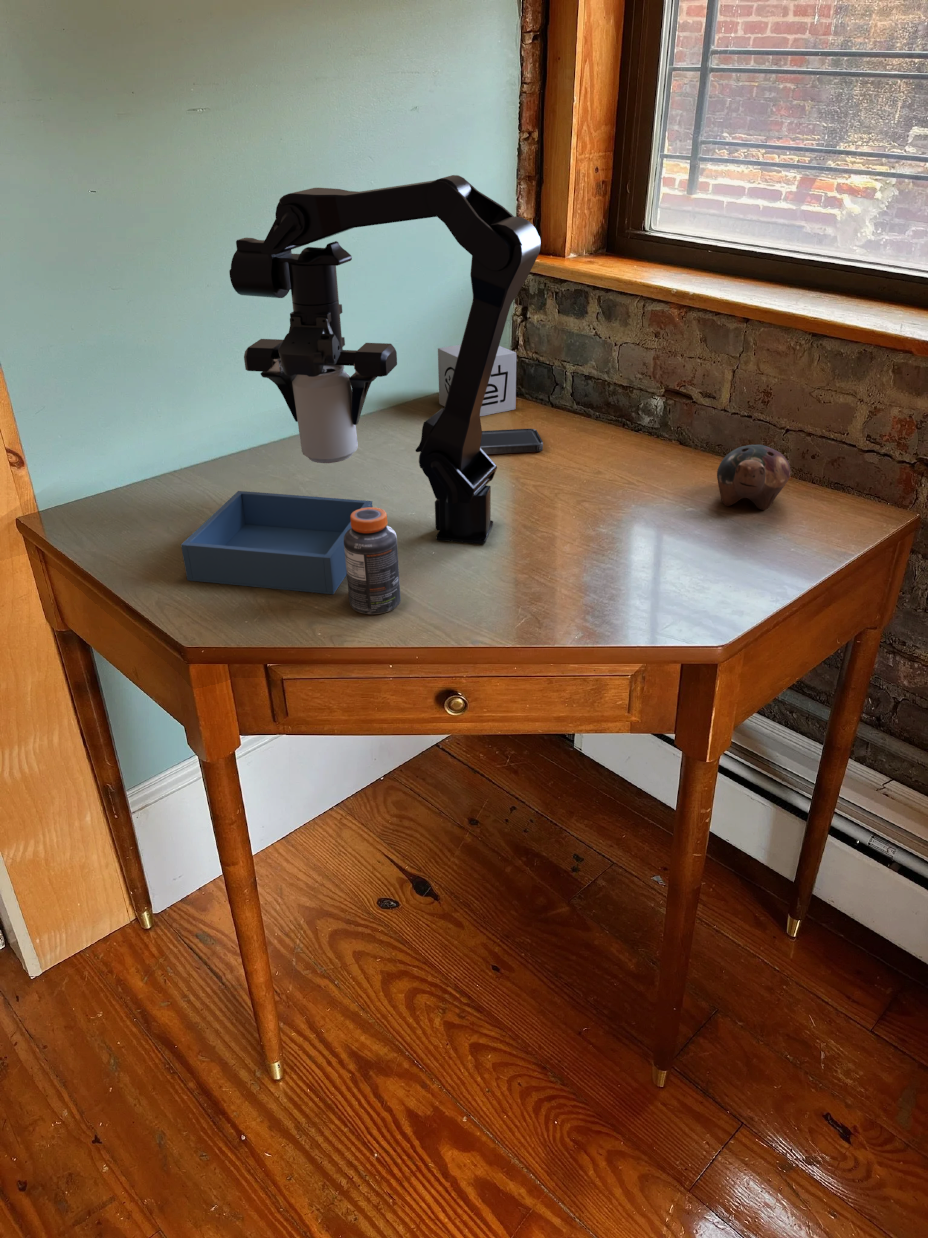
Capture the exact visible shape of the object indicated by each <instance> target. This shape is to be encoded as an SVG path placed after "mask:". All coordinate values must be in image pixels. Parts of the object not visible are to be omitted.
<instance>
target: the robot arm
mask: <svg viewBox="0 0 928 1238" xmlns="http://www.w3.org/2000/svg"><path fill="white" fill-rule="evenodd" d="M430 218H438V220H440V221H441V222H442V223H444V225H445V227H446V228H447V229H448V230H449V232H450V233H451V234H452V236H453V238H454V239H455V241H456V242H457V244H458V245H460V246H461V247H462V248H463V249H465V251H466V252H468V253H469V254H470V255H471V263H470V275H469V276H470V283H471V291H472V300H471V301H472V302H471V305H470V309H469V314H468V317H467V322H466V324H465V329H464V333H463V336H462V340H461V344H460V345H461V347H460V351H459V355H458V358H457V362H456V366H455V370H454V374H453V377H452V381H451V385H450V389H449V392H448V396H447V400H446V404H445V407H444V408H443V407H441V408H440V409H439V410H438V411H437V412H435V413H434V414H432V416H430V417H428V418H427V419H426V420H425V421H424V422H423V423H422V424H423V425H422V427H421V438H420V442H419V444H418V446H417V447H416V449H415V453H419V456H418V464H419V468H420V469H421V470H422V472H423V474H424V476H426V478H427V479H428V482H429V485H430V487H431V490H432V492H433V496H434V497H435V501H434V521H435V523H434V524H435V530H436V531H437V534H436V535H435V537H436V538H435V539H436V541H442V542H452V543H465V544H476V545H477V544H478V545H484V544H486V543H487V540H488V538H489V536H490V533H491V531H492V529H493V526H494V521H493V520H492V518H491V517H492V516H491V514H492V513H491V511H492V509H491V508H492V507H491V505H492V504H491V503H492V501H491V498H492V497H491V495H492V494H491V485H488V484H489V483H490V482H491V481H492V480H493V479H494V478H495V475H496V472H497V469H498V466H497V465H496V463H495V462H494V461H493V460H492V459H491V458H490V457H489V455H488V454H486V453H485V452H484V451H483V450H482V449H481V448H480V445H481V435H482V431H483V429H482V422H481V416H480V410H481V406H482V403H483V399H484V396H485V392H486V389H487V385H488V382H489V379H490V375H491V372H492V368H493V365H494V361H495V358H496V354H497V351H498V347H499V346H500V344H501V340H502V337H503V333H504V330H505V326H506V322H507V320H508V315H509V312H510V310H511V306H512V305H513V302H514V301H515V299H516V297H517V295H518V294H519V293H520V290H521V289H522V287H523V286H524V285H525V283H526V281H527V279H528V278H529V276H530V273H531V271H532V269H533V267H534V265H535V263H536V261H537V259H538V257H539V254H540V252H541V245H542V244H541V243H542V242H541V236H540V235H539V233H538V230H537V228H536V227H535V226H534V224H532V222H531V221H530V220H527V219H526V218H524V217H521V216H516V215H515V216H514V215H513V214H512V213H511V212H510V211H509V210H508V209H507V208H505V207H504V205H502V204H500V203H498V202H497V201H495V200H493V199H492V198H490V197H489V196H487V195H486V194H484V193H483V192H481V191H479V190H478V189H477V188H475V187H474V186H473V184H471V183H470V182H469V181H468V180H467V179H466V178H464V177H463V176H460V175H458V174H453V175H452V174H451V175H448V176H445V177H440V178H438V179H435V180H428V181H421V182H414V183H409V184H407V183H406V184H402V185H395V186H387V187H382V188H375V189H367V190H361V191H353V190H346V189H341V188H331V187H330V188H329V187H311V188H307V189H303V190H299V191H294V192H289V193H287V194H284V195H283V196H281V197H280V198H279V200H278V203H277V205H276V209H275V219H274V222H273V223H272V225H271V227H270V229H269V231H268V233H267V235H266V237H265V239H257V238H254V237H243V238H239V239H236V241H235V245H236V250H235V252H234V254H233V256H232V258H231V263H230V269H229V271H228V273H229V279H230V282H231V287H232V288H233V289H234V292H236V293H237V294H238V295H240V296H248V297H258V298H259V297H262V298H275V299H284V298H286V296H287V295H288V294H289V293H290V294H291V301H292V311H291V312H290V313H289V325H290V326H289V330H288V333H286V335H285V336H284V338H283V339H277V338H260V339H259V340H257V341H255V342H254V343H252V344H251V345H249V346H248V347H247V348H246V349H245V350H244V355H243V361H244V369H245V370H246V371H247V372H260V376H261V377H262V378H266V379H269V380H270V381H271V382H272V383H274V385H275V386H276V387H277V388H278V390H279V392H280V394H281V395H282V397H283V398H284V401H285V403H286V405H287V407H288V409H289V411H290V414H291V415H292V418H293V420H294V422H296V423H298V421H297V413H296V406H295V399H294V392H293V385H292V382H293V380H294V379H295V377H296V376H297V375H307V376H309V377H315V376H318V375H320V374H321V373H322V371H323V366H324V365H344V367H346V366H347V367H349V366H350V367H353V370H354V371H355V372H354V373H353V374H352V375H351V376H350V378H349V381H350V383H351V387H352V419H353V424H354V425H356V426H357V425H358V424H359V421H360V419H361V416H362V412H363V408H364V405H365V401H366V399H367V395H368V392H369V389H370V387H371V384H372V382H374V381H375V380H376V379H377V378H379V377H380V378H381V377H386V376H388V375H389V374H390V373H391V372H392V371H393V370H394V369H395V367H396V366H397V365H398V353H397V349H396V348H395V347H394V345H393V344H392V343H385V342H384V343H383V342H365V343H364V344H363V345H361V346H360V347H359V349H357V350H353V349H343V348H344V347H345V346H346V339H345V336H343V335H342V326H341V325H342V323H341V314H342V313H343V304H341V303H340V299H339V287H338V273H337V267H338V266H340V265H344V264H346V263H349V262H351V261H352V260H353V255H351V254H350V253H349V252H348V251H347V250H346V249H345V248H343V247H342V246H341V245H340V243H339V241H337V240H335V241H332V242H329V243H327V244H326V246H325V247H319V246H317V247H315V246H313V247H312V246H307V245H309V244H312V243H316V242H318V241H322V240H325V239H327V238H331V237H334V236H336V235H339V234H341V233H344V232H347V231H349V230H352V229H355V228H361V227H362V228H363V227H371V226H378V225H384V224H385V225H386V224H392V223H400V222H407V221H414V220H422V219H430ZM303 246H304V247H305V246H307V247H305V248H304V249H302V250H301V252H300V253H292V250H295V249H298V248H301V247H303Z"/></svg>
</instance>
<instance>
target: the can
mask: <svg viewBox="0 0 928 1238" xmlns="http://www.w3.org/2000/svg"><path fill="white" fill-rule="evenodd" d="M344 369H345V365H324V366H323V371H322V373H321V374H320V375H318V376H315V377H309V376H307V375H297V376H296V377H295V379H294V380H293V382H292V385H293V392H294V399H295V406H296V413H297V421H298V422H297V427H298V433H299V434H298V435H299V440H300V441H299V442H300V448H301V453H302V455H303V456H305V457H306V458H307V459H309V461H311V462H313V463H317V464H334V463H339V462H342V461H346V460H348V459H350V458H351V457H352V456H353V454H354V453H355V452H356V451H357V450H358V448H359V443H358V436H357V435H358V434H357V433H358V432H357V425H354V424H353V419H352V386H351V383H350V381H349V378H350V377H351V376H350V375H349V373H348V372H346V371H345V370H344Z"/></svg>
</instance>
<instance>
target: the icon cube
mask: <svg viewBox="0 0 928 1238" xmlns="http://www.w3.org/2000/svg"><path fill="white" fill-rule="evenodd" d="M460 347H461V344H456V345H449V346H443V347H438V348H437V367H438V369H437V370H438V371H437V372H438V404H439V405H440V406H443V407H444V408H445V404H446V400H447V396H448V392H449V389H450V385H451V381H452V377H453V374H454V370H455V366H456V362H457V358H458V355H459V351H460ZM516 404H517V352H516V351H514V350H511V349H508V348H506V347H504V346H501V345H499V347H498V351H497V354H496V358H495V361H494V365H493V368H492V372H491V375H490V379H489V382H488V385H487V389H486V392H485V396H484V399H483V403H482V406H481V410H480V417H484V416H489V415H495V414H498V413H504V412H508V411H513V410H516V407H517V406H516Z"/></svg>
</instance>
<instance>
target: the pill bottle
mask: <svg viewBox="0 0 928 1238" xmlns="http://www.w3.org/2000/svg"><path fill="white" fill-rule="evenodd" d="M350 518H351V527H352V528H350V529H349V530H348V531H347V532H346V534H345V536H344V550H345V561H346V572H347V575H346V581H347V591H348V602H349V605H350V607H351V608H352V610H354V611H355V612H358V613H361V614H363V615H364V614H365V615H381V614H385V613H388V612H390V611H392V610H394V609H395V608H397V607H398V606H399V605H400V603H401V599H402V597H401V584H400V567H399V566H400V564H399V550H398V549H399V548H398V537H397V536H398V535H397V533H396V531H395V530H394V528H392V527H391V526H389V525H388V521H389V520H388V514H387V512H386V510H384V509H383V508H380V507H374V506H372V507H367V508H361V509H358V510H355V511H354V512H352V514H351V516H350Z"/></svg>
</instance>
